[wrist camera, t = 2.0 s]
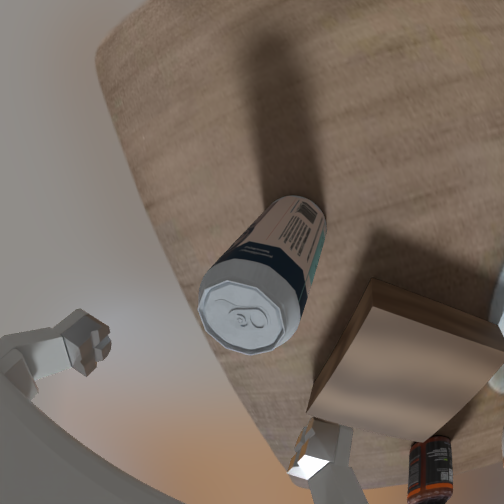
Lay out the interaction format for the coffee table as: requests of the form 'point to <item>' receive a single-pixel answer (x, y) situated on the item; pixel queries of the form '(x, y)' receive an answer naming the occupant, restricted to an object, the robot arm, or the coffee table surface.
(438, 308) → the walnut block
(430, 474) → the supplement bottle
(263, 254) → the beer can
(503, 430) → the lidded jar
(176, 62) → the coffee table surface
